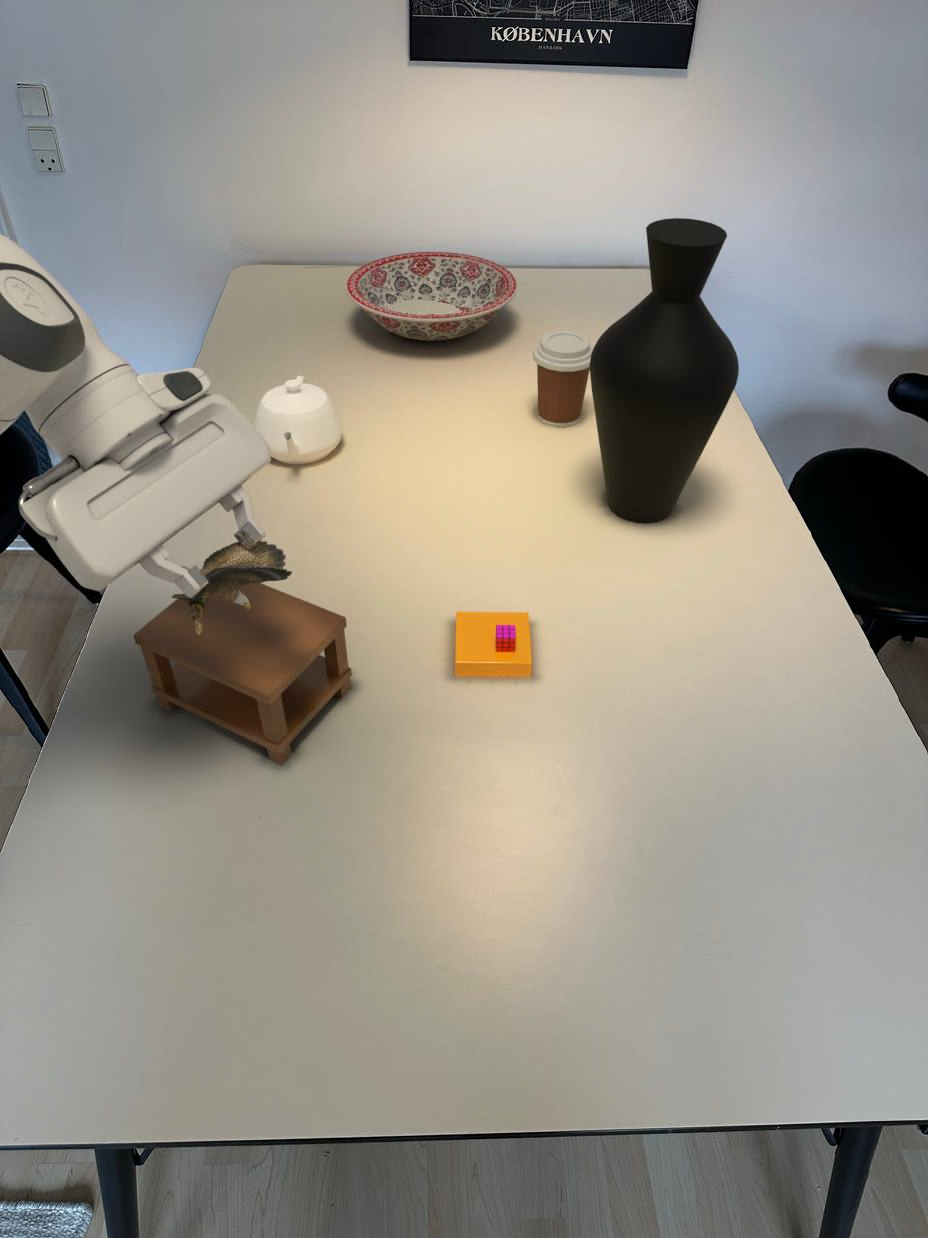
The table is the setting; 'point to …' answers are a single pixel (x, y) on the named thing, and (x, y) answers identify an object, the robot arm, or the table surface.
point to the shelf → (249, 663)
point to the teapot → (298, 422)
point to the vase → (662, 376)
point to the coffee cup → (562, 376)
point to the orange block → (493, 644)
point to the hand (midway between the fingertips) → (229, 566)
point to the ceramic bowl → (432, 292)
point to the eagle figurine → (235, 575)
